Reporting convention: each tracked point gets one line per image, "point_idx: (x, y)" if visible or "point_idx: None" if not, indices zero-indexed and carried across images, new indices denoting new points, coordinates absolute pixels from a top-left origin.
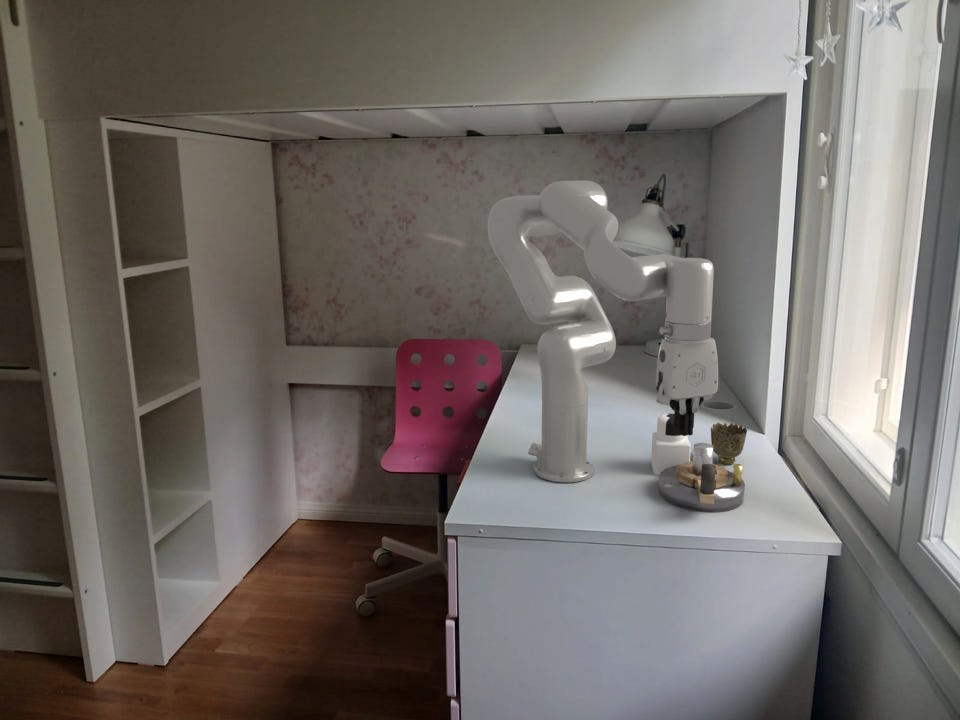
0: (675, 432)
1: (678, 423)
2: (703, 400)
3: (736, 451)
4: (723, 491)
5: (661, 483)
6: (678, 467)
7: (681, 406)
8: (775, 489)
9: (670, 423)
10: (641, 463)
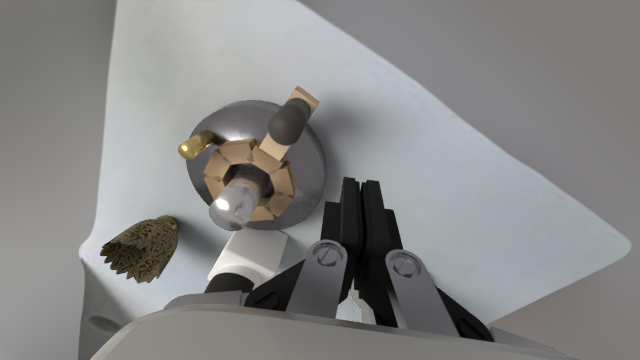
0: (238, 280)
1: (396, 229)
2: (242, 295)
3: (147, 223)
4: (244, 126)
5: (320, 197)
6: (279, 211)
7: (426, 293)
8: (138, 127)
9: None
10: (281, 264)
